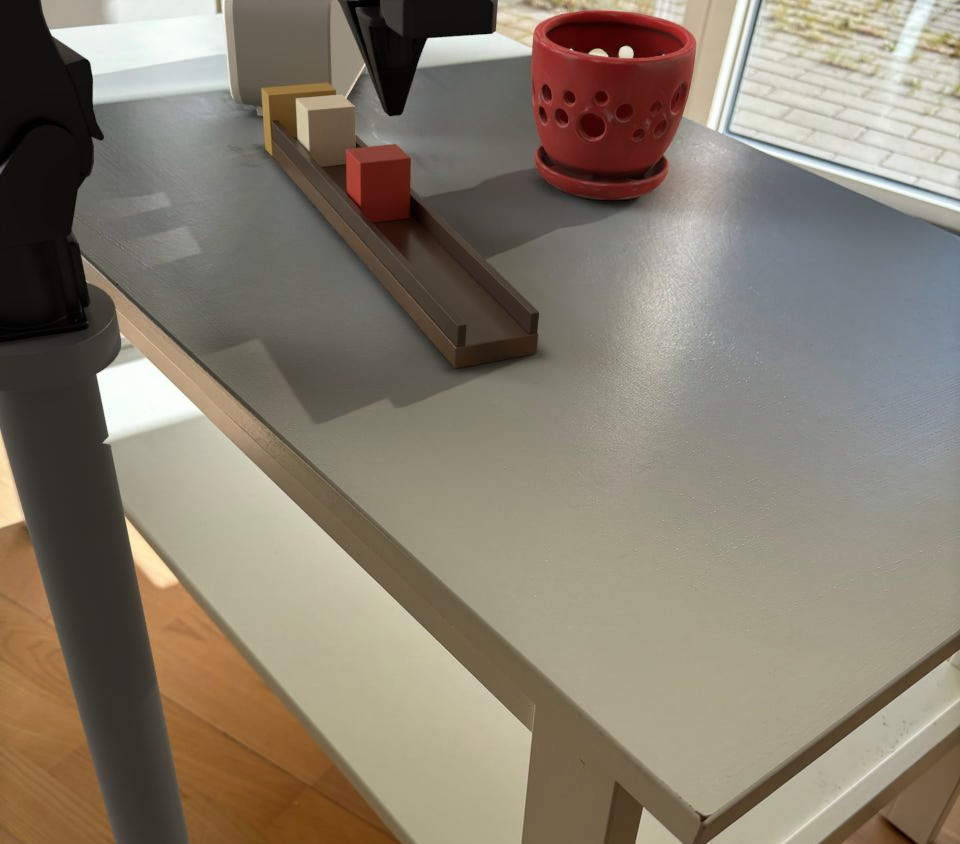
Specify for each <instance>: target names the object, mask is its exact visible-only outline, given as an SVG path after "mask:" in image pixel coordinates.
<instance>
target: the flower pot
mask: <svg viewBox="0 0 960 844" xmlns="http://www.w3.org/2000/svg"><path fill="white" fill-rule="evenodd" d="M531 45H532V46H531V62H530V63H531V64H530V65H531V67H530V72H531V74H530V76H531V77H530V78H531V102H532V112H533V118H534V123H535V127H536V128H535V129H536V131H537V134H538V137H539V140H540V143H541V144H540V145H539V146H538V147H537V149H536V150H535V153H534V164H535V167H536V168H537V171H538V173H539V174H540V176H541V177H542V178H543V180H545V181H546V182H547V183H548V184H550V185H551V186H553V187H555V188H556V189H558V190H560V191H562V192H564V193H567V194H569V195H573V196H576V197H580V198H583V199H588V200H599V201H619V200H621V201H622V200H624V201H631V200H633V199H634V198H639V197H641V196H643V195H646V194H649V193H650V192H653V191H654V190H655V189H657V188H658V187H659V186H660V185H661V184H663V182H664V181H665V180H666V178H667V175H668V173H669V171H670V163H669V160H668V159H667V157H666V156H665V155H664V154H665V153H666V151H667V150H668V149H669V147H670V145H671V143H672V142H673V140H674V138H675V136H676V134H677V132H678V129H679V127H680V124H681V122H682V119H683V115H684V112H685V109H686V106H687V102H688V100H689V95H690V90H691V86H692V81H693V75H694V71H695V63H696V54H697V40H696V38H695V36H694V34H693V33H692V32H691V31H689V29H687V28H686V27H684V26H683V25H681V24H678V23H676V22H673V21H671V20H667V19H666V18H661V17H658V16H653V15H649V14H645V13H644V14H643V13H639V12H631V11H620V10H605V9H604V10H603V9H600V10H599V9H592V10H587V9H586V10H578V11H571V12H565V13H560V14H556V15H554V16H551V17H548V18H547V19H544V20H542V21H541V22H539V23H538V25H536V26H535V28H534V30H533V34H532V44H531ZM623 47H627V48H630V49H631V50H632V53H633V54H632V58H631V57H630V58H629V57H620V51H621V49H622V48H623ZM595 50H601V51H603V52H604V53H605V54H606V55H607V56H604V55H598V54H590V53H591V52H593V51H595Z"/></svg>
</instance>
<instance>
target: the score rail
mask: <svg viewBox="0 0 960 844" xmlns="http://www.w3.org/2000/svg"><path fill="white" fill-rule="evenodd" d="M271 124H272V138H273V139H272V140H271V141H272V156H273V157H272V156H271V157H272V158H273V159H274V160H275V161H276V163H277V164H278V165H279V166H280V167H281V168H282V170H283V171H284V172H285V173H286V174H287V175H288V176H289V177H290V179H291V180H292V181H293V183H295V185H297V187H298V188H299V189H300V191H301V192H302V193H303V194H304V195H305V196H306V197H307V198H308V200H309V201H310V202H311V204H313V206H314V207H315V208H316V209H317V210H318V211H319V212H320V214H321V215H322V216H323V217H324V218H325V219H326V221H327V222H328V223H329V224H330V226H331V227H332V228H333V229H334V230H335V231H336V232H337V233H338V235H339V236H340V237H341V238H342V239H343V240H344V242H345V243H346V244H347V245H348V246H349V247H350V248H351V250H352V251H353V252H354V253H355V254H356V255H357V257H358V258H359V259H360V260H361V261H362V263H363V264H364V265H365V266H366V267H367V268H368V270H369V271H370V272H371V273H372V274H373V275H374V276H375V278H376V279H377V280H378V281H379V282H380V283H381V285H382V286H383V287H384V288H385V290H386V291H388V293H389V294H390V295H391V296H392V298H393V299H394V300H395V301H396V302H397V303H398V304H399V306H401V308H402V309H403V310H404V311H405V313H406V314H407V315H408V316H409V318H411V319H412V320H413V322H414V323H415V324H416V325H417V327H418V328H419V329H420V330H421V331H422V332H423V333H424V334H425V336H426V337H427V338H428V339H429V341H431V343H432V344H433V345H434V346H435V347H436V349H438V351H439V352H440V353H441V354H442V356H444V357H445V359H446V360H447V362H449V363H450V365H451V366H452V367H453V368H454V369H459V368H465V367H470V366H476V365H481V364H487V363H493V362H497V361H503V360H509V359H513V358H514V359H515V358H521V357H524V356H529V355H536V354H537V350H538V342H539V333H538V331H539V322H540V311H539V310H538V309H537V308H536V307H535V306H534V305H532V304H531V302H530V301H528V299H526V298H525V297H524V295H522V294H521V293H520V292H519V291H518V290H517V289H516V288H515V287H514V286H513V285H512V284H511V283H510V282H509V281H508V280H507V279H506V278H505V277H504V276H503V275H501V273H500V272H498V270H497V269H496V268H494V266H492V265H491V263H489V262H488V261H487V260H486V259H485V258H484V257H483V256H482V255H481V254H480V253H479V252H478V251H477V250H476V249H475V248H474V247H473V246H472V245H471V244H470V243H469V242H467V240H466V239H464V238H463V236H462V235H461V234H460V233H458V232H457V231H456V230H455V229H454V228H453V227H452V226H451V225H450V223H448V222H447V221H446V220H445V219H444V218H443V217H442V216H441V215H440V214H439V213H438V212H436V210H435V209H433V208H432V207H431V205H429V204H428V203H427V202H426V201H425V200H424V199H423V198H422V197H421V196H420V195H419V194H418V193H417V192H416V191H415V190H414V189H413V188H412V187H411V186H410V218H407V219H399V220H391V221H383V222H375V223H372V222H371V221H370V220H369V218H368V217H367V216H366V215H365V214H364V213H363V212H362V211H361V210H360V209H359V208H358V207H357V205H356V204H355V203H354V202H353V201H352V200H351V199H350V198H349V197H348V196H347V176H346V164H345V165H336V166H327V167H320V165H319V164H318V163H317V162H316V161H315V160H314V159H313V158H312V157H311V156H310V155H309V154H308V152H307V151H306V150H305V149H304V148H303V147H302V146H301V145H300V144H299V143H298V137H293V136H292V135H291V134H290V133H289V132H288V131H287V130H286V129H285V128H284V126H283V125H282V124H281V123H280V122H279V121H278V120H274V121H271ZM355 142H356V148H360V147H369V145H367V144H366V142H364V141H363V140H362V139H361V138H360V137H359V136H358V134H356V133H355Z"/></svg>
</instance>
